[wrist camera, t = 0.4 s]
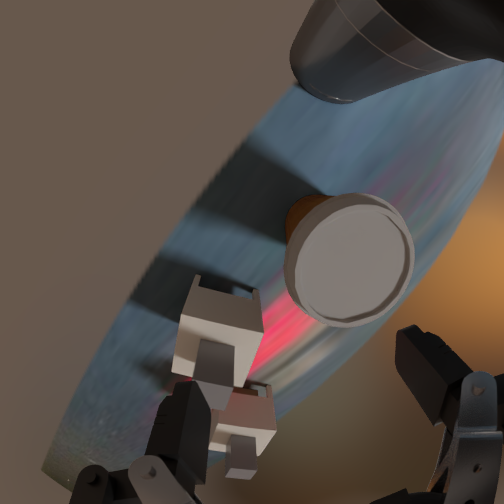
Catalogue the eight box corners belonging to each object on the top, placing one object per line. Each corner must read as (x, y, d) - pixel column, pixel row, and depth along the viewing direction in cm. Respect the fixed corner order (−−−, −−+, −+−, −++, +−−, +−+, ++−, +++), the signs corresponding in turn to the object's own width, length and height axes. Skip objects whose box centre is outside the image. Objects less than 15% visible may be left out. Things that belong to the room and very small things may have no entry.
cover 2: (221, 376, 34) (215, 458, 22) (271, 385, 35) (280, 464, 23) (211, 406, 37) (205, 479, 24) (256, 413, 38) (261, 485, 25)
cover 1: (195, 274, 29) (168, 352, 17) (258, 290, 30) (268, 374, 18) (184, 326, 32) (160, 410, 19) (242, 339, 32) (242, 427, 20)
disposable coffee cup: (256, 255, 29) (265, 318, 18) (285, 165, 26) (318, 172, 15) (338, 277, 30) (383, 341, 19) (369, 196, 27) (438, 225, 16)
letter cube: (229, 385, 35) (228, 407, 31) (257, 390, 36) (259, 411, 32) (223, 402, 36) (222, 423, 33) (249, 406, 37) (250, 427, 33)
